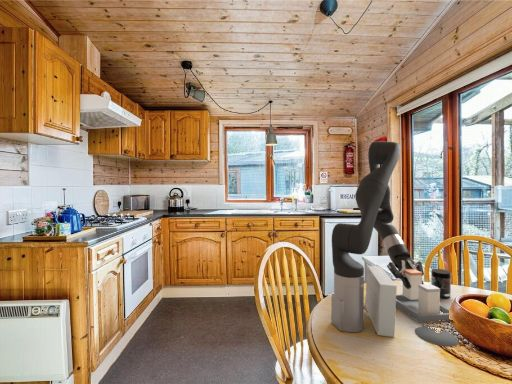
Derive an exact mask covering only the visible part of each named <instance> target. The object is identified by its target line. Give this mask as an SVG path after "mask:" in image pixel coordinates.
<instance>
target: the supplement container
mask: <svg viewBox="0 0 512 384" xmlns="http://www.w3.org/2000/svg"><path fill="white" fill-rule="evenodd" d="M430 274H431V275H430V276H431V279H430V284H431V285H434V286H436V287H438V288H440V299H444V300H445V299H446V300H447V299H450V298H451V291H452V290H451V288H452V286H451V285H452V284H451V283H452V282H451V279H452V278H451V277H452V272H451V271H450V270H447V269H441V268H431V270H430Z"/></svg>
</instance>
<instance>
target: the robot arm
mask: <svg viewBox="0 0 512 384" xmlns="http://www.w3.org/2000/svg"><path fill="white" fill-rule="evenodd" d="M367 152H368V155H367V157H368V158H367V159H368V167H369V173H368V174H366V175H365V176H364V177H363V178H362V179H361V180H360V183H359V185H358V187H357V189H356V192H355V202H356V204H357V206H358V209H359V212H360V214H361V217H360V220H359V223H358V224H351V223H342V222H341V223H336V224H335V225H334V227H333V229H332V232H331V252H332V253H331V255H332V257H331V258H332V266H333V293H332V294H331V295H330V296H331V297H330V298H331V303H330V304H331V305H330V306H331V311H330V313H331V314H330V315H331V318H330V319H331V323H332V325H334V327H335V328H336V329H338V330H339V332H347V333H359V332H361V331H363V330H364V328H365V327H364V321H365V318H364V317H365V315H364V311H365V309H364V308H365V305H364V301H365V297H364V295H365V287H364V286H365V267H364V265H362V263H360V262H359V261H357V260H355V259H354V258H353V257H352V256H351V255H350V254H353V255H364V254H366V252H367V250H368V248H369V246H370V242H371V239H372V235H373V231H374V229H375V230H376V232H377V233H378V234H379V236H380V239H382V240H381V241H382V242H383V246H384V248H385V250H386V252H387V255H388V257H389V259H390V262H389V263H387V265H386V267H387V269H388V271H390V273H391V274H392V275H393V276H394V278H395V279H399V280H401V282H402V285H403V284H404V286H405V287H406V288H407V289H410V288H411V285H410V283H409V281H408V279H407V277H406V274H405V272H404V270H406V269H414V270H417V271H420V272H422V277H423V276H424V275H425V271H424V267H423V263H422V262H421V260H418V261H415V260H413V258H412V257H411V253H410V251H409V250H408V248H407V245H406V243H405V241H404V240H403V239H402V237H401V235H400V234H399V232H398V230H397V228H396V227H395V225H393V224H390V223H393V221H394V218H395V217H394V213H393V210H392V206H391V188H390V185H389V182H390V179H391V176H392V174H393V172H394V170H395V167H396V166H397V164H398V161H399V159H400V155H401V145H400V144H399V142H395V141H383V140H382V141H381V140H379V141H378V140H376V141H372V142H371V143H370V145H369V148H368V151H367ZM379 165H380V166H379ZM422 284H425V283H424V281H423V280H422Z"/></svg>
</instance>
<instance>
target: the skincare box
mask: <svg viewBox="0 0 512 384" xmlns="http://www.w3.org/2000/svg"><path fill="white" fill-rule="evenodd" d="M365 285H366V286H365V299H364V301H365V305H364V307H365V308H366V311H367V314H368V316H369V318H370V321H371V324H372V325H373V328H374V330H375V333H376V335H378V336H381V337H382V336H383V337H392V338H394V337H395V335H396V334H395V333H396V332H395V331H396V327H395V326H396V310H397V309H396V307H397V306H396V295H397V287H398V286H397V284H396V283H395V282H394V281H393V280H392V279H391V277H390V276H389V275H388V274H387V273H386V271H385V270H384V269H383V268H382V266H379V265H366V281H365Z"/></svg>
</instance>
